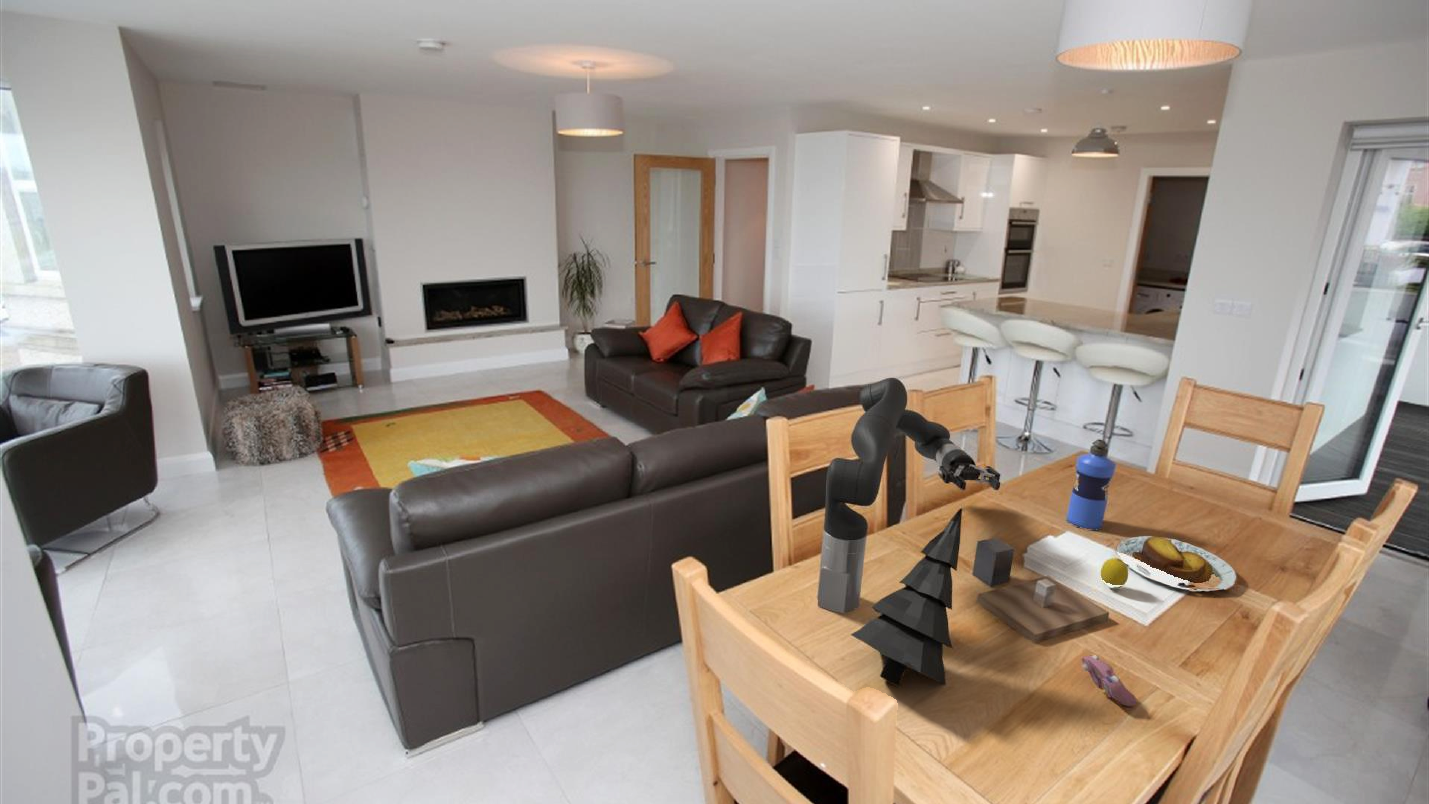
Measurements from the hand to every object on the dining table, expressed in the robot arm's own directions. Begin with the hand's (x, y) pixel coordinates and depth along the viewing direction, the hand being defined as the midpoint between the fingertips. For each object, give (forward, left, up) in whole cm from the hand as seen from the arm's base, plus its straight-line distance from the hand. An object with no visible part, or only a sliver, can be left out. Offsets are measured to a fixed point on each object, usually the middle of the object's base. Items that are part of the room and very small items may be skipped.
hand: (981, 486), depth 169 cm
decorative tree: (-52, 0, -19) cm, 56 cm away
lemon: (+3, -32, -19) cm, 37 cm away
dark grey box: (-9, -7, -19) cm, 22 cm away
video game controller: (-39, -32, -19) cm, 54 cm away
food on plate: (+23, -45, -19) cm, 54 cm away
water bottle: (+39, -24, -19) cm, 49 cm away
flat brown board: (-17, -19, -19) cm, 32 cm away
